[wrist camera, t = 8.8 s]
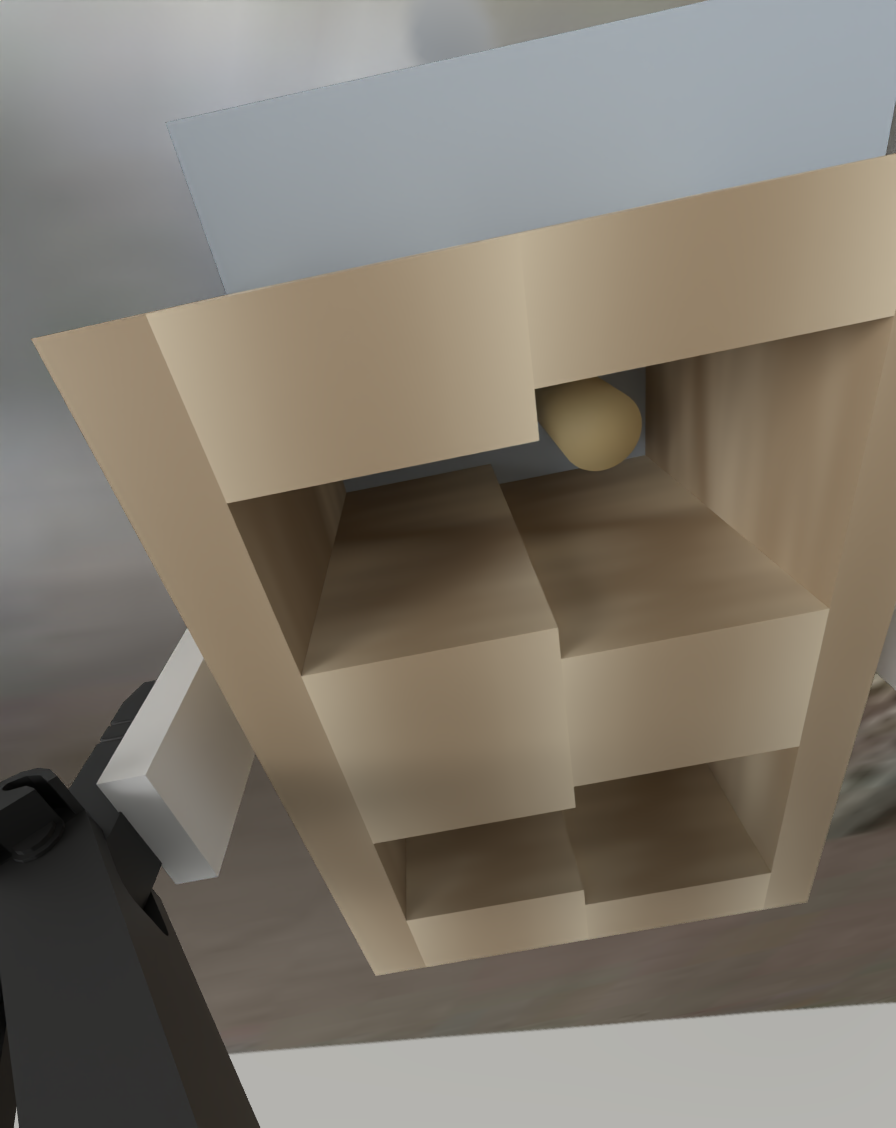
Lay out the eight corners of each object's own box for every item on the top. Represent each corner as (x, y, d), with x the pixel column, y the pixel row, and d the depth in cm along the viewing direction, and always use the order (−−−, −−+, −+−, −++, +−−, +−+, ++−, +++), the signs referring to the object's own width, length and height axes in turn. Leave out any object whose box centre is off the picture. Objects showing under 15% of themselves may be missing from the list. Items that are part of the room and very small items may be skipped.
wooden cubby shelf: (385, 739, 18) (375, 975, 12) (228, 294, 11) (31, 338, 5) (673, 686, 18) (806, 902, 12) (693, 194, 11) (1037, 124, 5)
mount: (404, 769, 21) (403, 876, 17) (187, 134, 11) (81, 76, 7) (759, 704, 21) (835, 800, 17) (872, -18, 11) (1116, -161, 7)
